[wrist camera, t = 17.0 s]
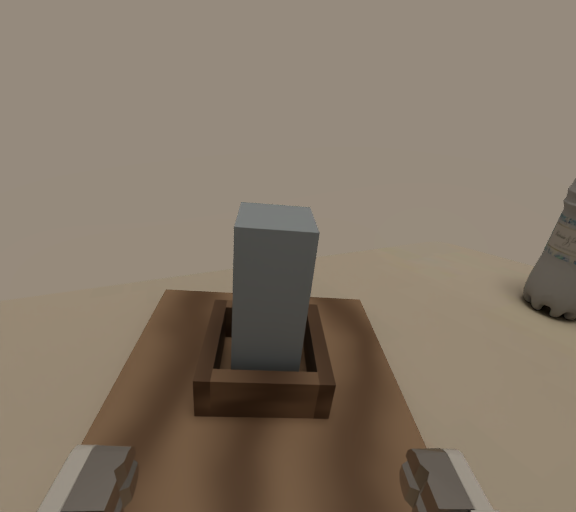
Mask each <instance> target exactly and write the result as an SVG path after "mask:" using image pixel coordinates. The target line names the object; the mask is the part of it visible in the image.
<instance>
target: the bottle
mask: <svg viewBox="0 0 576 512" xmlns="http://www.w3.org/2000/svg"><path fill="white" fill-rule="evenodd" d="M524 298H525V300H526V301H528V302H531V304H532V307H533V308H535V309H536V310H540V309H541V308H542V306H543V305H546V306H549V307H550V308H551V310H550V313H549V314H550V316H552V317H559V316H561V315H562V314H563V313H564V317H565V318H566V319H576V179H575V180H574V182H573V183H572V185H571V186H570V187H569V189H568V194H567V197H566V198H565V199H564V210H563V212H562V213H561V216H560V218H559V220H558V222H557V224H556V226H555V228H554V230H553V232H552V234H551V237H550V238H549V240H548V242H547V244H546V247H545V249H544V251H543V253H542V255H541V256H540V258H539V260H538V262H537V263H536V265H535V266H534V268H533V270H532V271H531V273H530V275H529V277H528V279H527V281H526V284H525V287H524Z"/></svg>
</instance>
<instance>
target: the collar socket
mask: <svg viewBox="0 0 576 512" xmlns="http://www.w3.org/2000/svg"><path fill="white" fill-rule="evenodd" d="M232 302H233V293H221V292H202V291H183V290H166V291H165V292H164V294H163V296H162V298H161V300H160V301H159V303H158V305H157V307H156V309H155V311H154V312H153V314H152V316H151V318H150V320H149V322H148V323H147V325H146V327H145V329H144V331H143V333H142V334H141V336H140V338H139V340H138V342H137V343H136V345H135V347H134V349H133V351H132V353H131V354H130V356H129V358H128V360H127V362H126V364H125V365H124V367H123V369H122V371H121V373H120V375H119V376H118V378H117V380H116V382H115V384H114V385H113V387H112V389H111V391H110V393H109V395H108V396H107V398H106V400H105V402H104V404H103V406H102V407H101V409H100V411H99V413H98V415H97V417H96V418H95V420H94V422H93V424H92V426H91V428H90V429H89V431H88V433H87V435H86V437H85V438H84V440H83V442H82V444H81V445H121V446H135V450H136V455H135V458H134V460H135V461H136V462H138V466H139V474H138V480H137V485H136V489H135V492H134V495H133V498H132V501H131V502H130V503H129V504H128V505H127V506H126V507H125V508H124V509H123V510H124V512H412V507H411V506H410V505H409V504H408V503H407V502H406V501H405V500H404V497H403V494H402V491H401V486H400V476H399V472H400V469H401V466H402V464H403V463H405V462H406V461H407V458H406V456H405V455H406V453H407V451H408V450H409V449H424V448H426V446H425V444H424V441H423V439H422V437H421V435H420V432H419V430H418V428H417V426H416V424H415V421H414V419H413V417H412V415H411V412H410V410H409V408H408V406H407V404H406V401H405V399H404V397H403V395H402V393H401V390H400V388H399V386H398V384H397V381H396V379H395V377H394V375H393V373H392V370H391V368H390V366H389V364H388V361H387V359H386V357H385V355H384V353H383V350H382V348H381V346H380V344H379V341H378V339H377V337H376V335H375V333H374V330H373V328H372V326H371V324H370V321H369V319H368V317H367V315H366V313H365V310H364V308H363V306H362V304H361V302H360V300H355V299H336V298H317V297H310V300H309V307H308V314H307V321H306V328H305V334H304V341H303V348H302V355H301V361H300V368H299V372H296V371H264V370H233V369H231V344H232Z"/></svg>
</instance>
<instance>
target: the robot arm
mask: <svg viewBox="0 0 576 512" xmlns="http://www.w3.org/2000/svg"><path fill="white" fill-rule="evenodd" d="M135 455H136V450H135V446H121V445H77V446H76V447H75V448H74V449H73V450H72V451H71V452H70V454H69V456H68V458H67V459H66V461H65V463H64V465H63V466H62V468H61V470H60V472H59V473H58V475H57V477H56V479H55V480H54V482H53V484H52V486H51V488H50V489H49V491H48V493H47V495H46V496H45V498H44V500H43V502H42V503H41V505H40V507H39V509H38V510H37V512H124V510H123V509H124V508H125V507H126V506H127V505H128V504H129V503H130V502H131V501H132V498H133V495H134V492H135V489H136V485H137V480H138V474H139V466H138V462H136V461H135V460H134V458H135ZM405 456H406V458H407V461H406V462H405V463H403V464H402V466H401V469H400V472H399V476H400V486H401V491H402V494H403V497H404V500H405V501H406V502H407V503H408V504H409V505H410V506H411V507H412V512H500V511H499V510H493V508H492V506H491V504H490V502H489V501H488V499H487V497H486V495H485V493H484V492H483V490H482V488H481V486H480V484H479V483H478V481H477V479H476V477H475V475H474V473H473V472H472V470H471V468H470V466H469V464H468V463H467V461H466V459H465V457H464V455H463V454H462V453H461V452H460V451H459V450H458V449H440V448H424V449H409V450H408V451H407V453H406V455H405Z"/></svg>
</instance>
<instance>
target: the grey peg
mask: <svg viewBox="0 0 576 512" xmlns="http://www.w3.org/2000/svg"><path fill="white" fill-rule="evenodd" d="M318 240H319V231H318V228H317V225H316V222H315V220H314V217H313V214H312V212H311V209H310V207H298V206H285V205H272V204H259V203H246V202H241V205H240V209H239V212H238V216H237V219H236V223H235V226H234V260H233V302H232V344H231V369H233V370H264V371H296V372H299V368H300V361H301V355H302V348H303V341H304V334H305V328H306V321H307V314H308V307H309V300H310V294H311V287H312V280H313V273H314V267H315V260H316V253H317V246H318Z"/></svg>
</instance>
